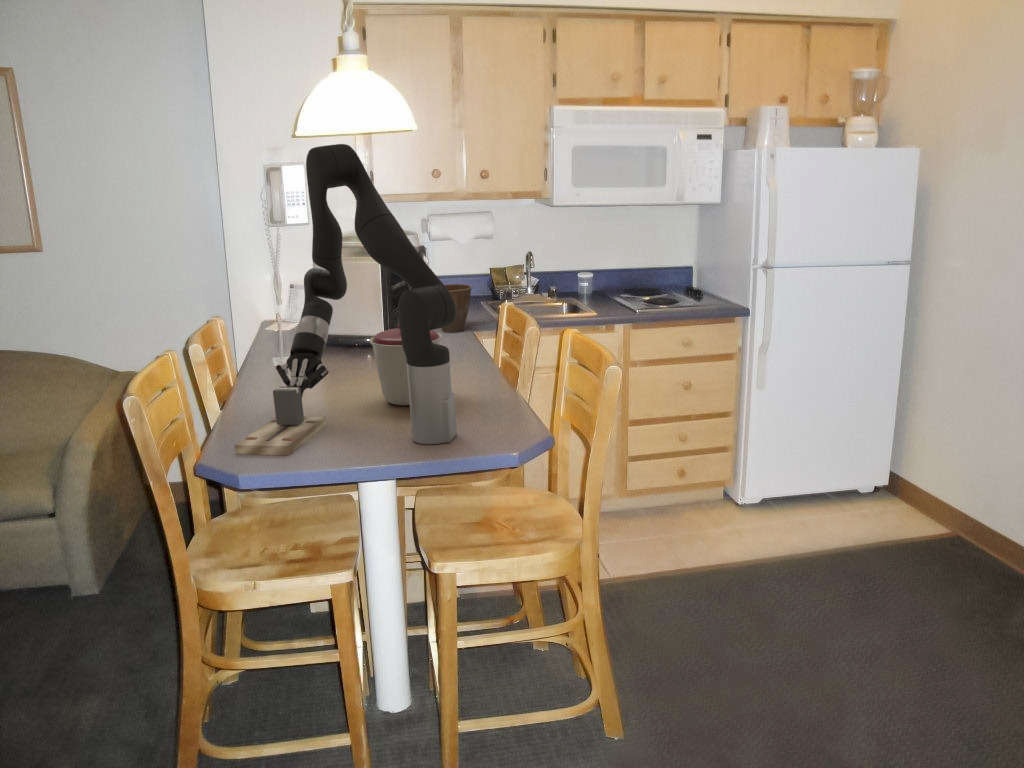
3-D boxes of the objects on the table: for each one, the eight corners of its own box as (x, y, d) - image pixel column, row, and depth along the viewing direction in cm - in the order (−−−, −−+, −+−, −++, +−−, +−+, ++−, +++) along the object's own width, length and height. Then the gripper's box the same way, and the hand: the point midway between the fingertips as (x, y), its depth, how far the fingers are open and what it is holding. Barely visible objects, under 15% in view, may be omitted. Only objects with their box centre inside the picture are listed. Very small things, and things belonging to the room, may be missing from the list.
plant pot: (480, 331, 282) (478, 287, 278) (443, 336, 275) (440, 292, 271) (462, 325, 294) (459, 283, 290) (426, 330, 287) (423, 287, 283)
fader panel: (326, 425, 183) (325, 416, 182) (288, 455, 164) (287, 445, 163) (279, 423, 185) (277, 415, 184) (235, 453, 166) (234, 444, 165)
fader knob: (304, 420, 179) (300, 386, 177) (297, 425, 175) (293, 390, 173) (283, 419, 180) (279, 386, 178) (276, 424, 176) (272, 390, 174)
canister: (459, 396, 202) (455, 316, 196) (413, 414, 188) (407, 329, 182) (407, 387, 212) (401, 311, 206) (360, 404, 198) (352, 323, 192)
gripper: (278, 330, 185) (259, 394, 177) (330, 330, 183) (314, 395, 174) (291, 347, 191) (273, 409, 183) (341, 347, 189) (326, 410, 181)
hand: (293, 402), depth 179 cm, fingers closed
